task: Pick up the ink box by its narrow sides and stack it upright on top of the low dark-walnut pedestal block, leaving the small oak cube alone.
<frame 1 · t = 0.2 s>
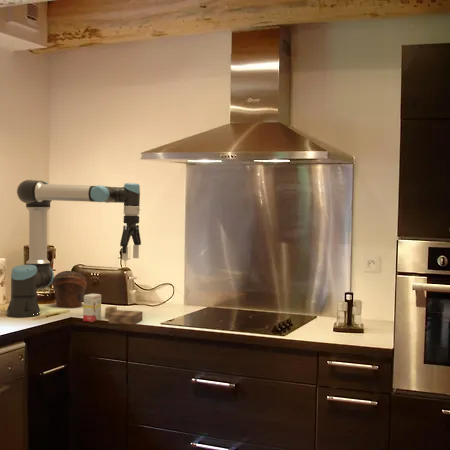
hand: (130, 259, 303), 28 cm above the counter, fingers open, 13 cm apart
brown plant pot: (69, 306, 330), on the counter
ink box: (92, 320, 290), on the counter
oak cube: (111, 317, 298), on the counter
pedestal: (125, 321, 288), on the counter
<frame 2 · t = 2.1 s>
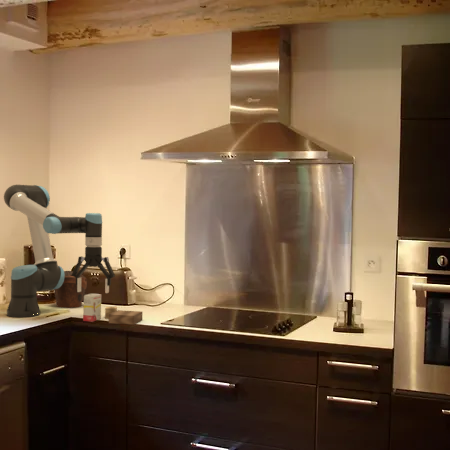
hand: (93, 292, 290), 13 cm above the counter, fingers open, 13 cm apart
nothing on the counter moved.
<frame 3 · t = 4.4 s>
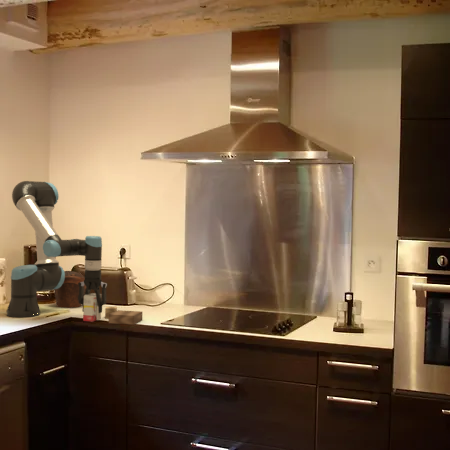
hand: (92, 319, 290), 0 cm above the counter, fingers closed on ink box, 5 cm apart
ink box: (92, 320, 290), on the counter, touching gripper
everything else where it was.
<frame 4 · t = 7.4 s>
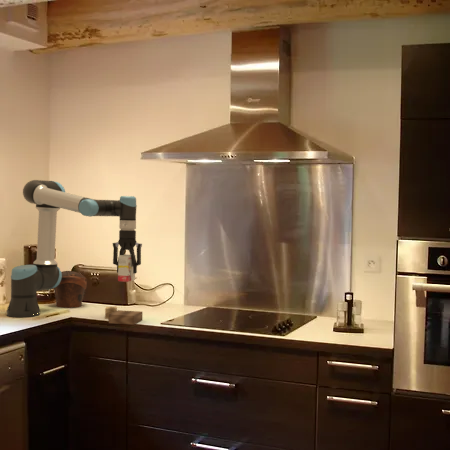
hand: (126, 280, 288), 19 cm above the counter, fingers closed on ink box, 5 cm apart
ink box: (126, 281, 288), point 19 cm above the counter, touching gripper
everything else where it was.
when the fingers open (6 cm above the counter, at t = 10.4 s): ink box drops 1 cm, resting on pedestal.
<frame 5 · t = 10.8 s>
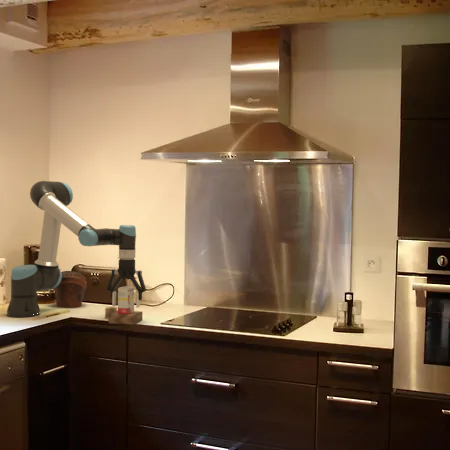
hand: (126, 306, 288), 7 cm above the counter, fingers open, 11 cm apart
ink box: (126, 313, 288), point 4 cm above the counter, touching pedestal
everything else where it was.
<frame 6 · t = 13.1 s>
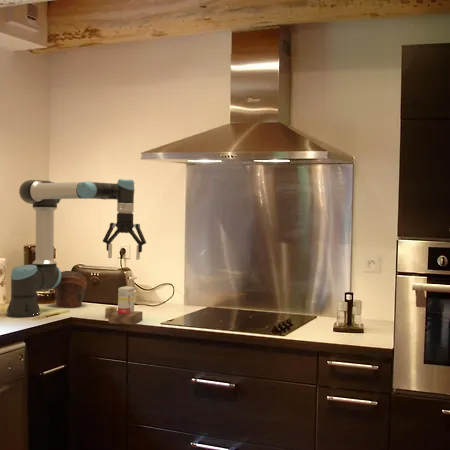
hand: (123, 258, 289), 29 cm above the counter, fingers open, 13 cm apart
nothing on the counter moved.
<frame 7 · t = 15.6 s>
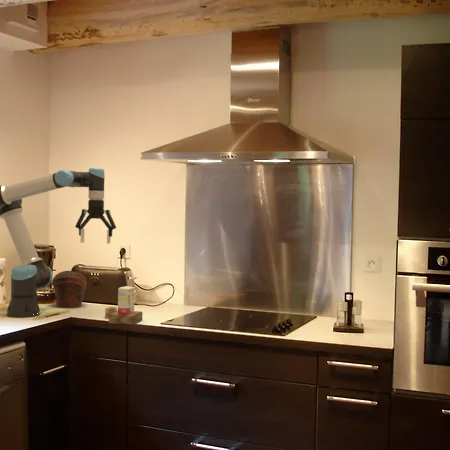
hand: (95, 243, 307), 35 cm above the counter, fingers open, 13 cm apart
nothing on the counter moved.
at the end: ink box inside the target area on the pedestal (0.0 cm from its centre), point 3.8 cm above the pedestal's base; ink box tilted 0°; the gripper is holding nothing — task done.
